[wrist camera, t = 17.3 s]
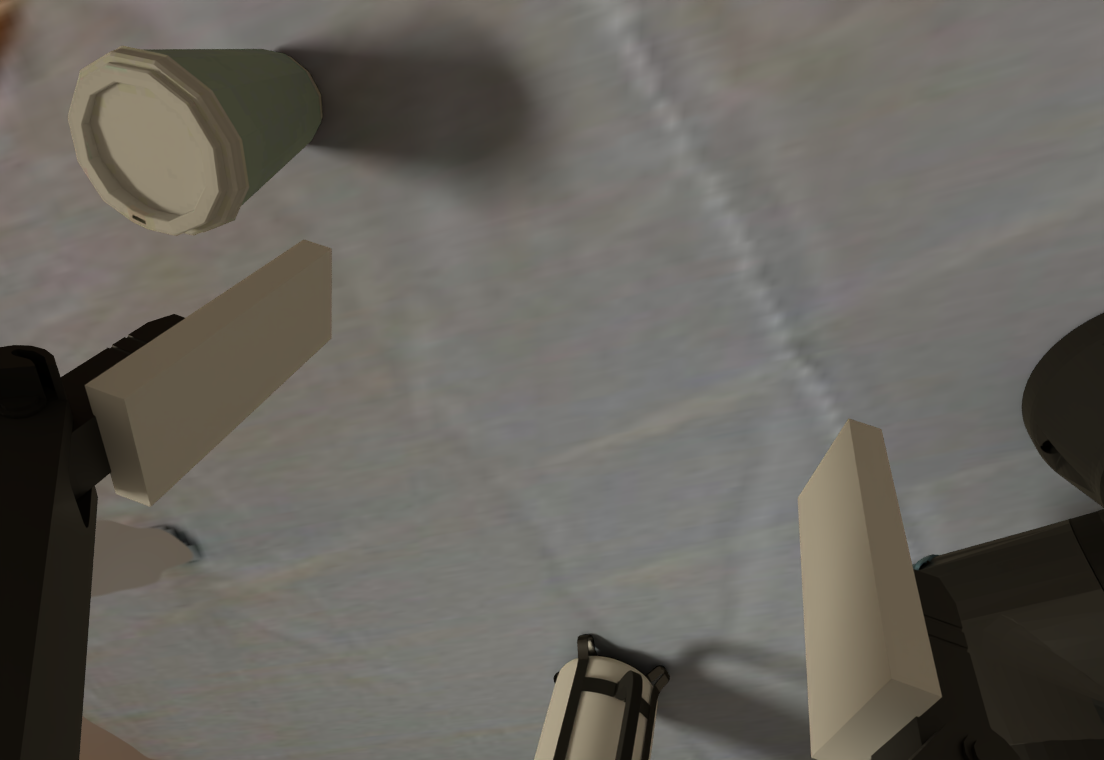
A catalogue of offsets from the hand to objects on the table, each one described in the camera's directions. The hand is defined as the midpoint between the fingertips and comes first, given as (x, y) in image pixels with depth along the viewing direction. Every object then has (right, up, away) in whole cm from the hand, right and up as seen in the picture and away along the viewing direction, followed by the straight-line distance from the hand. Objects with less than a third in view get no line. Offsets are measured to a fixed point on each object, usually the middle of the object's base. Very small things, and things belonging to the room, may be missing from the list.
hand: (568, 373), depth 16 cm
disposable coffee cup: (-20, +21, +33) cm, 44 cm away
